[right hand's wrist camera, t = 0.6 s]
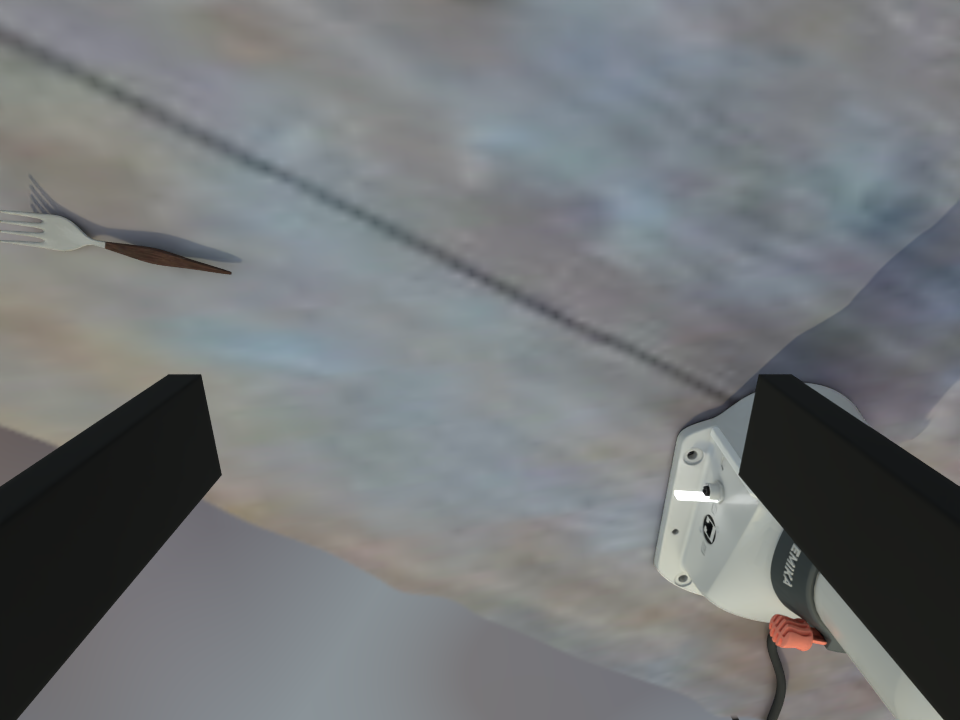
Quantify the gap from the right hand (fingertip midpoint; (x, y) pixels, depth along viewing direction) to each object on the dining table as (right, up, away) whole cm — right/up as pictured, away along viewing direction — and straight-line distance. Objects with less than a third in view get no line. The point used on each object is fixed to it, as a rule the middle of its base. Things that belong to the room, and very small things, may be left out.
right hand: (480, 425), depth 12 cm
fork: (-26, +10, +26) cm, 38 cm away
